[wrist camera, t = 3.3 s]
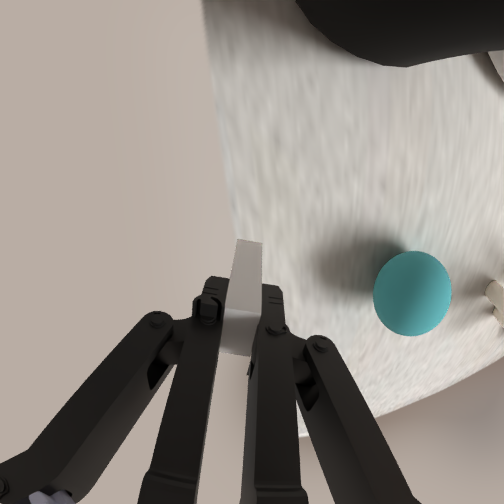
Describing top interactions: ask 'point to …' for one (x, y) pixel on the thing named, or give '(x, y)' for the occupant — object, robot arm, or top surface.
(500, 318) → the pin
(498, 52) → the flower in vase
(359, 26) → the coffee jar
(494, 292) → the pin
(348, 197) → the top surface
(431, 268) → the ball
